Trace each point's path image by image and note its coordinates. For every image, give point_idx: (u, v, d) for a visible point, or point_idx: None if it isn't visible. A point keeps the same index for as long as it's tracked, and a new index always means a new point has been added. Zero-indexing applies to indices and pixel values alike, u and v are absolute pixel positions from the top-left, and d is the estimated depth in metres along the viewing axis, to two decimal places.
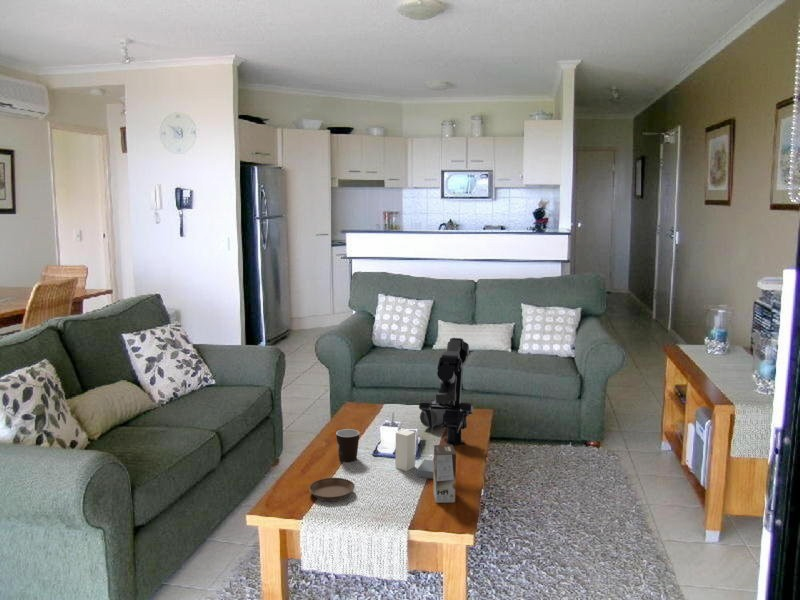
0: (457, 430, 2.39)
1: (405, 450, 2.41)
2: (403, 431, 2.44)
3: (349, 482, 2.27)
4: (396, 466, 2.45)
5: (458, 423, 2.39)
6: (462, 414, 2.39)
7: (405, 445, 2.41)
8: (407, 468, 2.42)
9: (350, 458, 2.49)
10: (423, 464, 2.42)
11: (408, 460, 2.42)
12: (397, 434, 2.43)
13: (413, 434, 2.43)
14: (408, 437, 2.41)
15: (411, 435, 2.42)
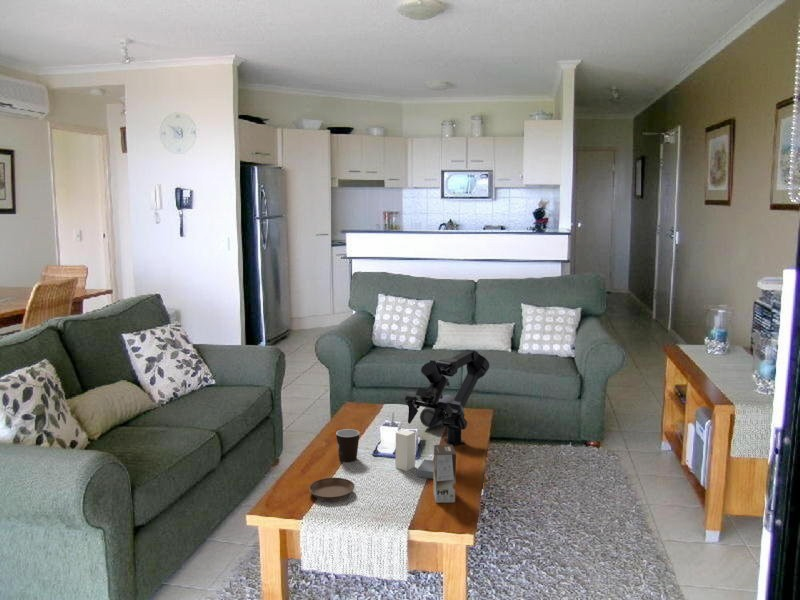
0: (429, 426, 2.47)
1: (405, 450, 2.41)
2: (403, 431, 2.44)
3: (349, 482, 2.27)
4: (396, 466, 2.45)
5: (432, 419, 2.48)
6: (437, 411, 2.47)
7: (405, 445, 2.41)
8: (407, 468, 2.42)
9: (350, 458, 2.49)
10: (423, 464, 2.42)
11: (408, 460, 2.42)
12: (397, 434, 2.43)
13: (413, 434, 2.43)
14: (408, 437, 2.41)
15: (411, 435, 2.42)
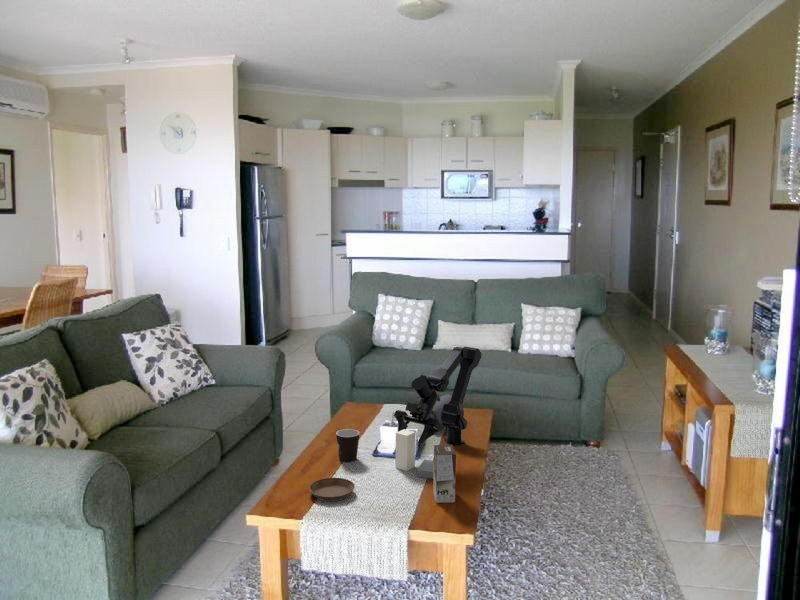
0: (419, 442, 2.42)
1: (405, 450, 2.41)
2: (403, 431, 2.44)
3: (349, 482, 2.27)
4: (396, 466, 2.45)
5: (421, 435, 2.43)
6: (427, 427, 2.43)
7: (405, 445, 2.41)
8: (407, 468, 2.42)
9: (350, 458, 2.49)
10: (423, 464, 2.42)
11: (408, 460, 2.42)
12: (397, 434, 2.43)
13: (413, 434, 2.43)
14: (408, 437, 2.41)
15: (411, 435, 2.42)
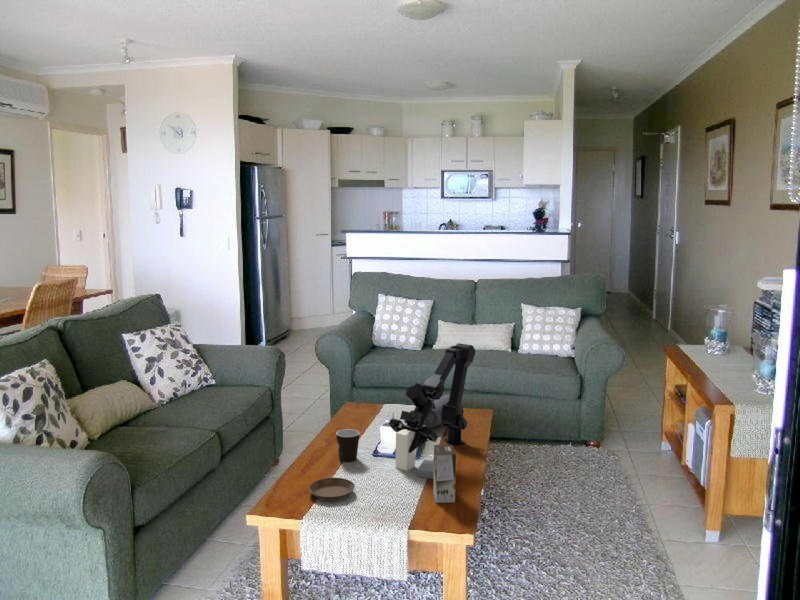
0: (409, 450, 2.41)
1: (406, 450, 2.41)
2: (403, 431, 2.44)
3: (349, 482, 2.27)
4: (396, 466, 2.45)
5: (412, 443, 2.42)
6: (418, 435, 2.42)
7: (405, 445, 2.41)
8: (407, 468, 2.42)
9: (350, 458, 2.49)
10: (423, 464, 2.42)
11: (408, 460, 2.42)
12: (397, 434, 2.43)
13: (413, 434, 2.43)
14: (408, 437, 2.41)
15: (411, 435, 2.42)
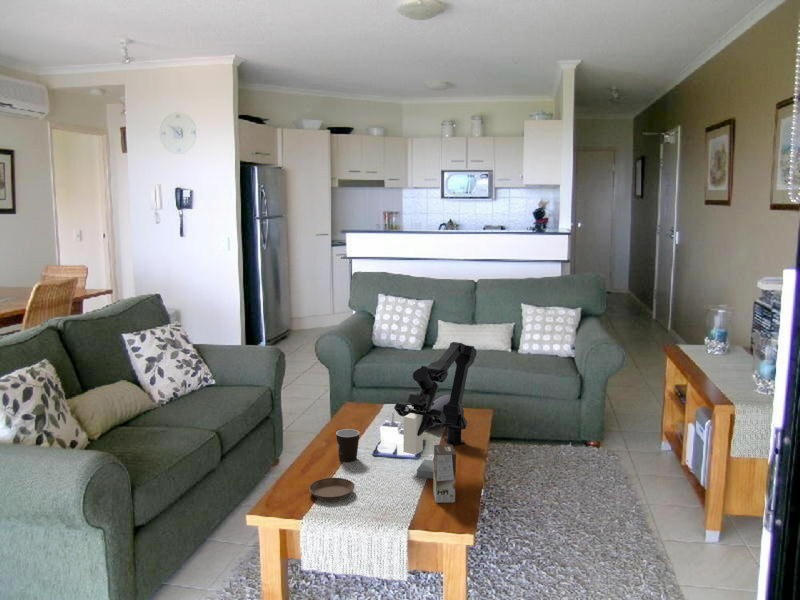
0: (418, 433, 2.39)
1: (414, 434, 2.38)
2: (411, 415, 2.42)
3: (349, 482, 2.27)
4: (404, 450, 2.42)
5: (421, 426, 2.40)
6: (426, 418, 2.40)
7: (414, 429, 2.38)
8: (416, 452, 2.40)
9: (350, 458, 2.49)
10: (423, 464, 2.42)
11: (416, 444, 2.40)
12: (405, 418, 2.40)
13: (421, 417, 2.41)
14: (417, 420, 2.38)
15: (419, 418, 2.40)
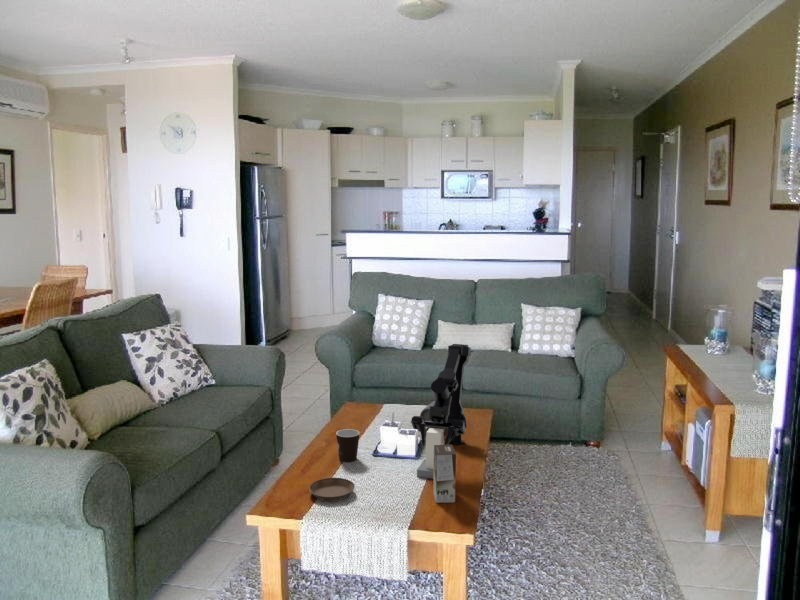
0: None
1: None
2: (432, 429, 2.39)
3: (349, 482, 2.27)
4: (427, 466, 2.38)
5: (447, 439, 2.37)
6: (451, 430, 2.38)
7: (438, 443, 2.36)
8: None
9: (350, 458, 2.49)
10: (423, 464, 2.42)
11: None
12: (428, 433, 2.36)
13: (442, 431, 2.39)
14: (441, 435, 2.36)
15: (442, 432, 2.37)
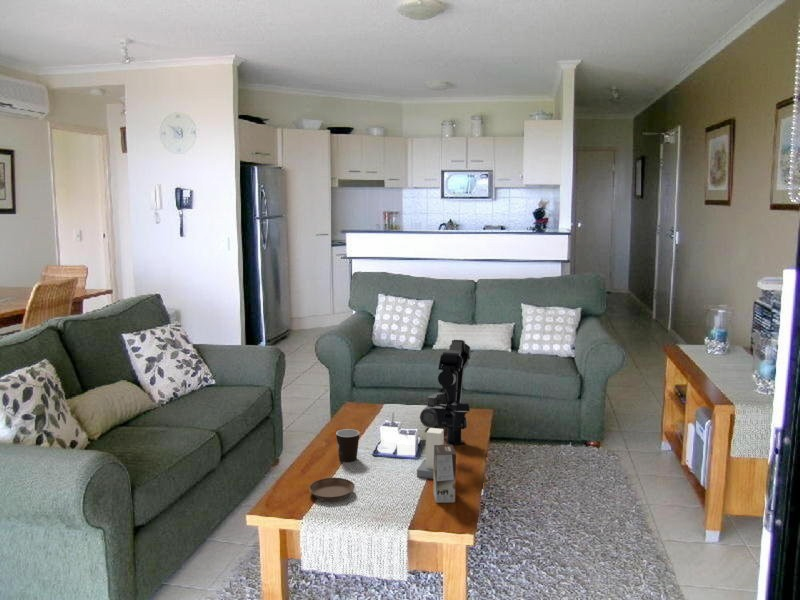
0: (453, 428, 2.47)
1: None
2: (432, 430, 2.39)
3: (349, 482, 2.27)
4: (427, 466, 2.38)
5: (453, 422, 2.47)
6: (454, 414, 2.46)
7: (438, 443, 2.36)
8: None
9: (350, 458, 2.49)
10: (423, 464, 2.42)
11: None
12: (428, 433, 2.36)
13: (442, 431, 2.39)
14: (441, 435, 2.36)
15: (442, 432, 2.37)
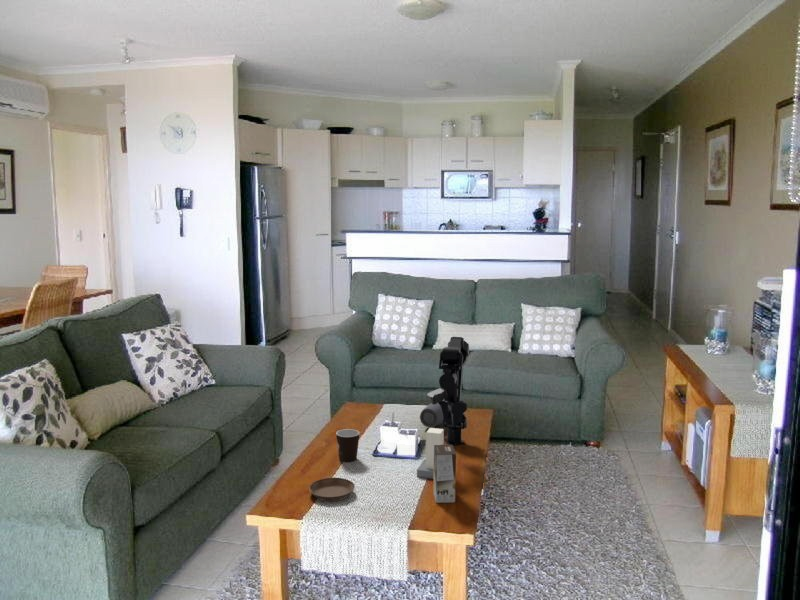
0: (453, 425, 2.49)
1: None
2: (432, 430, 2.39)
3: (349, 482, 2.27)
4: (427, 466, 2.38)
5: (452, 419, 2.49)
6: (451, 413, 2.46)
7: (438, 443, 2.36)
8: None
9: (350, 458, 2.49)
10: (423, 464, 2.42)
11: None
12: (428, 433, 2.36)
13: (442, 431, 2.39)
14: (441, 435, 2.36)
15: (442, 432, 2.37)
